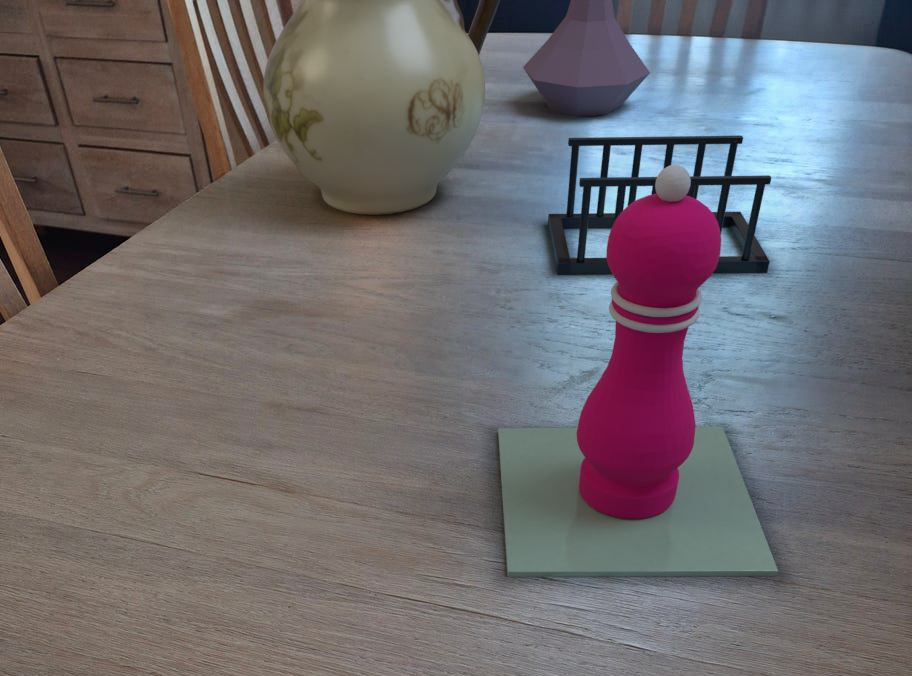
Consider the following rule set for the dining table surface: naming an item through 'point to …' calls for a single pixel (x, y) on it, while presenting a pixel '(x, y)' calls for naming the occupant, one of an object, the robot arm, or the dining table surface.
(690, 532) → the tile
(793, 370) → the dining table surface
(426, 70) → the pitcher
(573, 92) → the mauve faceted vase
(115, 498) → the dining table surface
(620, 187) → the rack
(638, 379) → the pepper mill
